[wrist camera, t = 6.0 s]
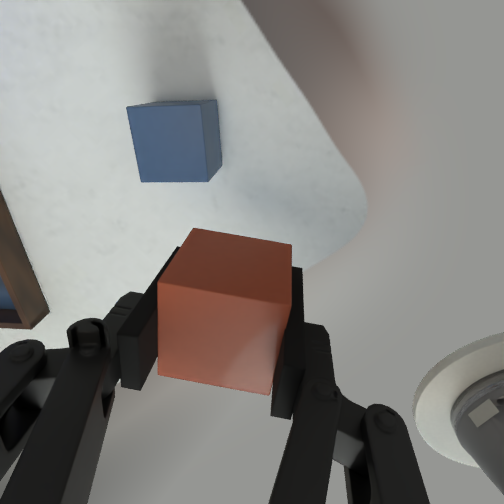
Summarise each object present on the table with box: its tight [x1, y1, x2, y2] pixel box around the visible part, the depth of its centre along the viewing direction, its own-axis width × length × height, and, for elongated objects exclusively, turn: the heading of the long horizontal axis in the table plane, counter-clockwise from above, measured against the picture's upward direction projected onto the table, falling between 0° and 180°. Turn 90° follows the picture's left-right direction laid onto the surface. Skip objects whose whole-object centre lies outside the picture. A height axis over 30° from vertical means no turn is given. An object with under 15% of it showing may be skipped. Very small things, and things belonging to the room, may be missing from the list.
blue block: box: [126, 100, 222, 182], centre depth 24 cm, size 5×5×5 cm
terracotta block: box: [157, 228, 292, 395], centre depth 15 cm, size 5×5×5 cm
